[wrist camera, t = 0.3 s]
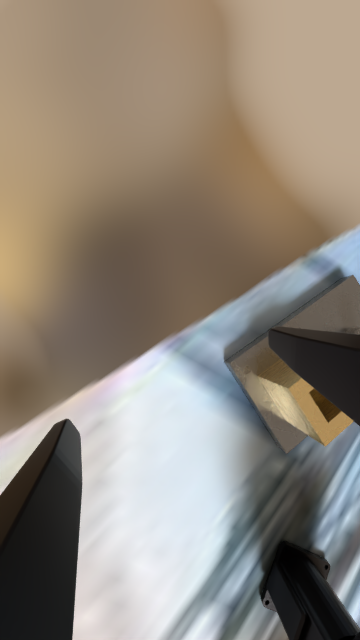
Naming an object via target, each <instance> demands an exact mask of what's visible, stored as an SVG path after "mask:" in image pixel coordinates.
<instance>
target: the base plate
mask: <svg viewBox="0 0 360 640" xmlns="http://www.w3.org/2000/svg"><path fill="white" fill-rule="evenodd" d="M276 326H281V327H291V328H300V329H310V330H320V331H330V332H339V333H349V334H359V335H360V285H359V283H358V282H357V280H356V278H355V277H354V275H351V276H347V277H344V278H341V279H340V280H338V281H337V282H336V283H334V284H333V285H331V286H330V287H329V288H327V289H326V290H324V291H323V292H322V293H320V294H319V295H317V296H316V297H315V298H313V299H312V300H310V301H309V302H308V303H306V304H305V305H303V306H302V307H301V308H299V309H298V310H296V311H295V312H294V313H292V314H291V315H289V316H288V317H287V318H285V319H284V320H282V321H281V322H280V323H278V324H277V325H275V326H274V327H276ZM272 328H273V327H272ZM268 331H269V330H268ZM268 331H267V332H265V333H264V334H263V335H261V336H260V337H258V338H257V339H256V340H254V341H253V342H251V343H250V344H249V345H247V346H246V347H244V348H243V349H242V350H240V351H239V352H237V353H236V354H235V355H233V356H232V357H230V358H229V359H228V360H226V361H225V364H226V365H227V367H228V368H229V370H230V372H231V373H232V375H233V376H234V378H235V379H236V381H237V383H238V384H239V386H240V387H241V389H242V390H243V392H244V393H245V395H246V397H247V398H248V400H249V401H250V403H251V404H252V406H253V408H254V409H255V411H256V412H257V414H258V415H259V417H260V419H261V420H262V422H263V423H264V425H265V426H266V428H267V430H268V431H269V433H270V434H271V436H272V437H273V439H274V440H275V442H276V444H277V445H278V446H279V447H280V448H281V449H282V450H283V451H284V452H285V453H286V454H287V453H288V452H289V451H291V450H292V449H293V448H294V447H295V446H296V445H298V444H299V443H300V442H301V441H302V440H303V439H304V438H306V437H307V436H308V435H307V434H306V433H304V432H303V431H301V430H299V429H298V428H296V427H295V426H293V425H292V424H290V423H289V422H287V421H286V420H285V419H284V417H283V415H282V414H281V412H280V411H279V409H278V408H277V406H276V404H275V403H274V401H273V400H272V398H271V397H270V395H269V393H268V392H267V390H266V389H265V387H264V386H263V384H262V382H261V381H260V379H259V378H258V375H259V374H261V373H262V372H263V371H265V370H266V369H267V368H269V367H270V366H271V365H273V364H274V363H275V362H277V361H278V360H279V359H281V358H280V357H279V356H278V355H277V354H276V353H275V352H274V351H273V350H272V349H271V348H270V347H269V344H268Z"/></svg>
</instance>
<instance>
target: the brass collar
mask: <svg viewBox="0 0 360 640" xmlns="http://www.w3.org/2000/svg"><path fill="white" fill-rule="evenodd" d="M258 378H259V379H260V381H261V382H262V384H263V386H264V387H265V389H266V390H267V392H268V393H269V395H270V397H271V398H272V400H273V401H274V403H275V404H276V406H277V408H278V409H279V411H280V412H281V414H282V415H283V417H284V419H285V420H286V421H287V422H289V423H290V424H292V425H293V426H295V427H296V428H298V429H299V430H301V431H303V432H304V433H306V434H307V435H309V436H310V437H312V438H313V439H315V440H316V441H318V442H319V443H321V444H322V445H324V446H326V445H328V444H329V443H330V442H331V441H332V440H333V439H334V438H335V437H337V436H338V435H339V434H340V433H341V432H342V431H343V430H344V429H346V428H347V427H348V426H349V425H350V424H351V423H352V422H353V420H352V419H351V418H349V417H348V416H347V415H346V414H345V413H343V412H342V411H341V410H340V409H338V408H337V407H336V406H335V405H334V404H332V403H331V402H330V401H329V400H328V399H326V398H325V397H324V396H323V395H322V394H320V393H319V392H318V391H317V390H315V389H314V388H313V387H312V386H311V385H309V384H308V383H307V382H306V381H305V380H303V379H302V378H301V377H300V376H299V375H297V374H296V373H295V372H294V371H293V370H292V369H291V368H290V367H289V366H288V365H287V364H286V363H285V362H284V361H283V360H282V359H279V360H278V361H277V362H275V363H274V364H273V365H271V366H270V367H269V368H267V369H266V370H265V371H263V372H262V373H261V374H259V375H258Z"/></svg>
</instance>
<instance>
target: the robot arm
mask: <svg viewBox="0 0 360 640" xmlns="http://www.w3.org/2000/svg"><path fill="white" fill-rule="evenodd" d="M268 344H269V347H270V348H271V349H272V350H273V351H274V352H275V353H276V354H277V355H278V356H279V357H280V358H281V359H282V360H283V361H284V362H285V363H286V364H287V365H288V366H289V367H290V368H291V369H292V370H293V371H294V372H295V373H296V374H297V375H299V376H300V377H301V378H302V379H303V380H305V381H306V382H307V383H308V384H309V385H311V386H312V387H313V388H314V389H315V390H317V391H318V392H319V393H320V394H322V395H323V396H324V397H325V398H326V399H328V400H329V401H330V402H331V403H332V404H334V405H335V406H336V407H337V408H338V409H340V410H341V411H342V412H343V413H345V414H346V415H347V416H348V417H349V418H351V419H352V420H353V421H354V422H355V423H357V424H358V425H359V426H360V335H359V334H349V333H339V332H330V331H320V330H310V329H300V328H291V327H281V326H276V327H273V328H271V329H269V331H268ZM81 497H82V461H81V438H80V434H79V432H78V430H77V429H76V427H75V426H74V425H73V423H72V422H71V421H70V420H69V419H64V420H62V421H60V422H58V423H56V424H55V425H54V426H53V427H52V428H51V430H50V431H49V432H48V434H47V435H46V436H45V438H44V439H43V440H42V441H41V443H40V444H39V445H38V447H37V448H36V449H35V451H34V452H33V453H32V455H31V456H30V457H29V458H28V460H27V461H26V462H25V464H24V465H23V466H22V468H21V469H20V470H19V472H18V473H17V474H16V475H15V477H14V478H13V479H12V481H11V482H10V483H9V485H8V486H7V487H6V489H5V490H4V491H3V492H2V494H1V495H0V640H72V635H73V620H74V605H75V589H76V574H77V559H78V543H79V528H80V513H81ZM329 570H330V564H329V563H328V562H327V560H326V559H324V558H322V557H320V556H318V555H315V554H313V553H311V552H308V551H306V550H304V549H302V548H299V547H297V546H295V545H292V544H290V543H288V542H286V541H283V542H282V543H281V544H280V547H279V549H278V552H277V555H276V557H275V560H274V563H273V565H272V568H271V571H270V574H269V576H268V579H267V582H266V584H265V587H264V590H263V593H262V595H261V601H262V603H263V606H264V607H265V608H268V609H270V610H273V611H275V612H277V613H278V615H279V617H280V620H281V622H282V624H283V627H284V629H285V631H286V633H287V636H288V638H289V640H360V628H359V627H358V625H357V624H356V622H355V621H354V620H353V618H352V617H351V615H350V614H349V612H348V611H347V610H346V608H345V607H344V605H343V604H342V602H341V601H340V599H339V598H338V597H337V595H336V594H335V592H334V591H333V589H332V588H331V587H330V585H329V584H328V582H327V581H326V579H327V576H328V573H329Z"/></svg>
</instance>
